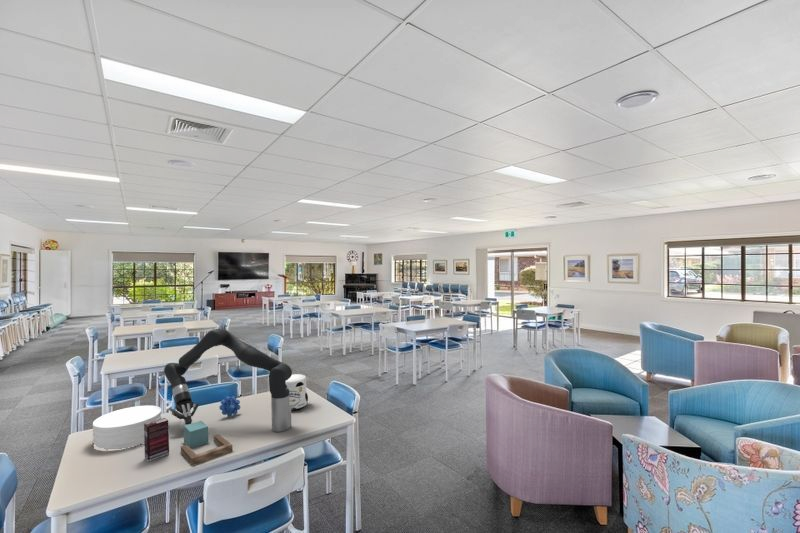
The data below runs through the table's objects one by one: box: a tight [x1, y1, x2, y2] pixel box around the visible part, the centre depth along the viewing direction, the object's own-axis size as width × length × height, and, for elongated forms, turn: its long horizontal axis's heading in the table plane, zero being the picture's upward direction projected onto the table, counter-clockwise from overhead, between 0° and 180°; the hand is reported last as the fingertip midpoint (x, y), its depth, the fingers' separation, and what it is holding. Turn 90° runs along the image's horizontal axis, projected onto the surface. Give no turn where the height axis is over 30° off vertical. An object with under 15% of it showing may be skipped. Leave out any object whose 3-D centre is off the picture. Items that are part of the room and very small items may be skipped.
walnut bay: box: [180, 433, 233, 466], centre depth 171 cm, size 17×16×3 cm
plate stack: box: [92, 405, 162, 450], centre depth 187 cm, size 28×28×12 cm
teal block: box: [183, 420, 209, 449], centre depth 181 cm, size 8×10×8 cm
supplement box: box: [144, 417, 170, 462], centre depth 167 cm, size 9×5×16 cm, turn 141°
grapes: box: [219, 395, 241, 418], centre depth 211 cm, size 12×7×12 cm, turn 134°
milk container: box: [285, 373, 309, 411], centre depth 225 cm, size 17×17×18 cm
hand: (189, 424), depth 189 cm, fingers closed
